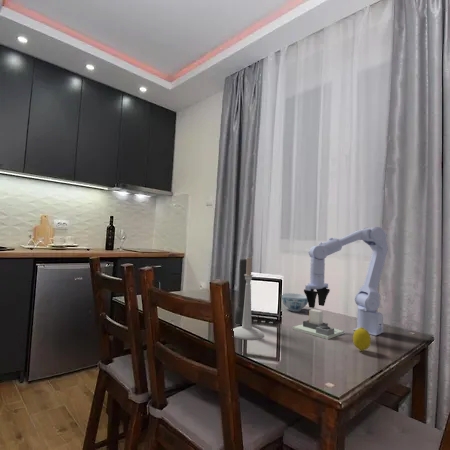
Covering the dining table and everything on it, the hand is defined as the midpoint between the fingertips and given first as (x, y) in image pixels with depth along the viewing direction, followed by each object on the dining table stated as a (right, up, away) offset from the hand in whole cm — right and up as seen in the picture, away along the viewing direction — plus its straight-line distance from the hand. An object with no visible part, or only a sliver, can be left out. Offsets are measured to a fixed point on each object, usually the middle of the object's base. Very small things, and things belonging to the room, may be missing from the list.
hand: (316, 306), depth 130 cm
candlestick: (-30, -8, -11) cm, 33 cm away
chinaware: (-1, -12, +37) cm, 39 cm away
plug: (0, -9, 0) cm, 9 cm away
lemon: (+8, -9, -25) cm, 27 cm away
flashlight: (-31, -9, +5) cm, 32 cm away
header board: (0, -10, -2) cm, 10 cm away
